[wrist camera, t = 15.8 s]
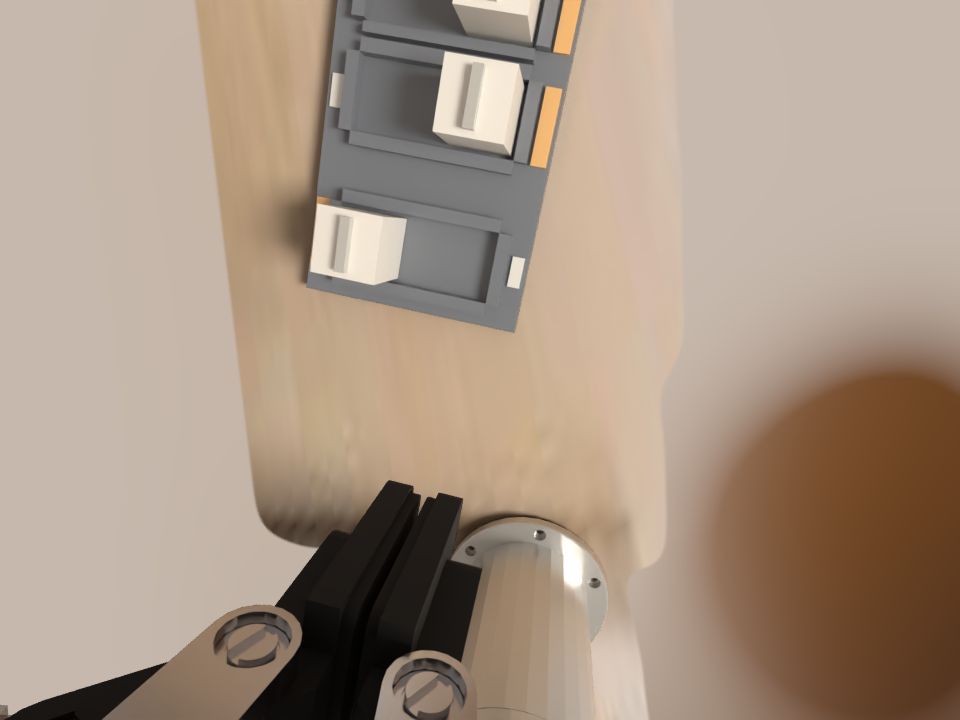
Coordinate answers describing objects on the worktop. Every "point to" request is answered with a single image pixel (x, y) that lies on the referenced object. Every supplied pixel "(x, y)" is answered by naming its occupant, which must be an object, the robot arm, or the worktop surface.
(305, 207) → the worktop surface
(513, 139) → the white block with ridge
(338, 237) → the white switch slider block
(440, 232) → the switch board
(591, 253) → the worktop surface
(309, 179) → the worktop surface
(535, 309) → the worktop surface
